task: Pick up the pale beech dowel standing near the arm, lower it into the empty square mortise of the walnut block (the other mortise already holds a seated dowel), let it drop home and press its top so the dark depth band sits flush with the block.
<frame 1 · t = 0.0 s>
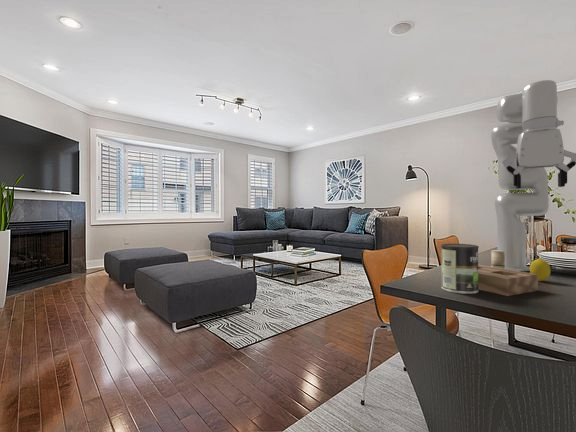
hand: (539, 187, 86), 31 cm above the table, tool pointing down, fingers open, 9 cm apart
dowel: (497, 278, 110), on the table
lemon: (539, 281, 104), on the table
coffee can: (459, 290, 95), on the table
mortise block: (486, 285, 100), on the table
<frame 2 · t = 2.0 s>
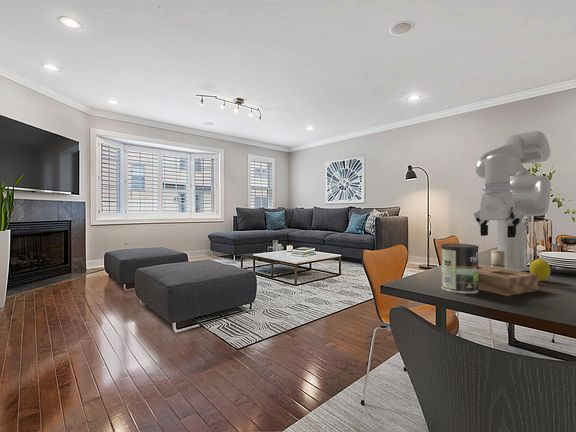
hand: (497, 236, 109), 15 cm above the table, tool pointing down, fingers open, 9 cm apart
nothing on the table moved.
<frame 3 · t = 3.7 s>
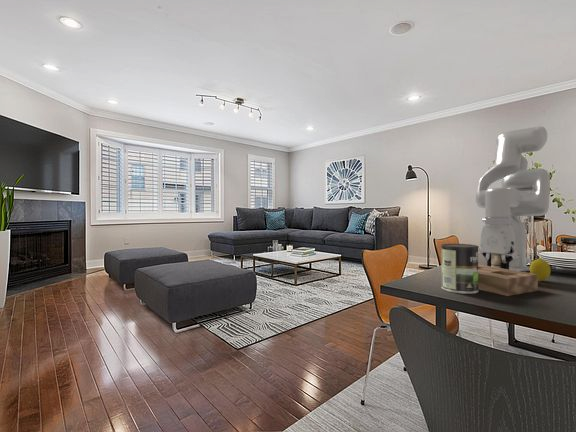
hand: (497, 271, 109), 2 cm above the table, tool pointing down, fingers closed on dowel, 4 cm apart
dowel: (497, 278, 109), on the table, touching gripper
everything else where it was.
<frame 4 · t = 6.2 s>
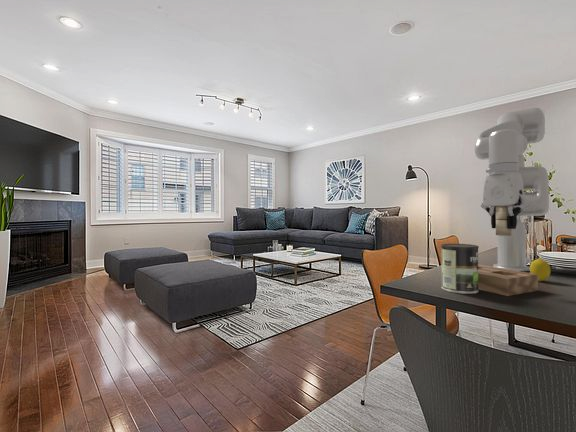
hand: (503, 227, 95), 19 cm above the table, tool pointing down, fingers closed on dowel, 4 cm apart
dowel: (503, 235, 95), point 17 cm above the table, touching gripper
everything else where it was.
when the fingers open (6 cm above the table, at t = 8.6 s): dowel drops 3 cm, resting in mortise block.
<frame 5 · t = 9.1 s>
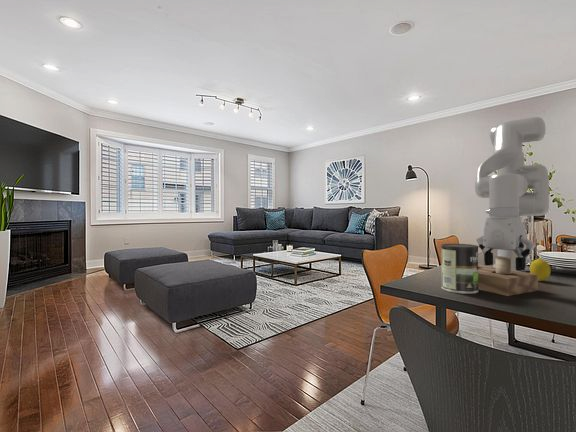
hand: (503, 267, 95), 7 cm above the table, tool pointing down, fingers open, 9 cm apart
dowel: (503, 288, 95), resting in mortise block
everything else where it was.
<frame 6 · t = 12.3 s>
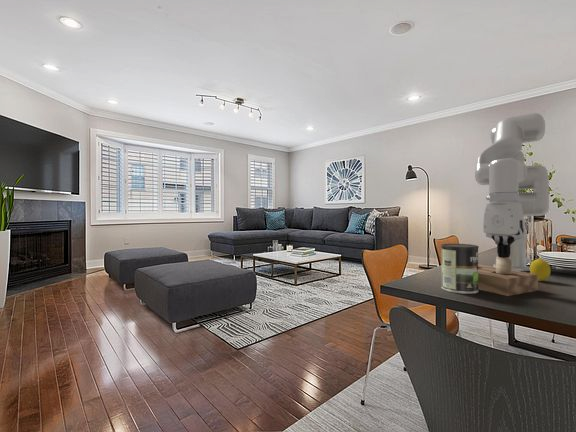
hand: (503, 257, 95), 10 cm above the table, tool pointing down, fingers closed
nothing on the table moved.
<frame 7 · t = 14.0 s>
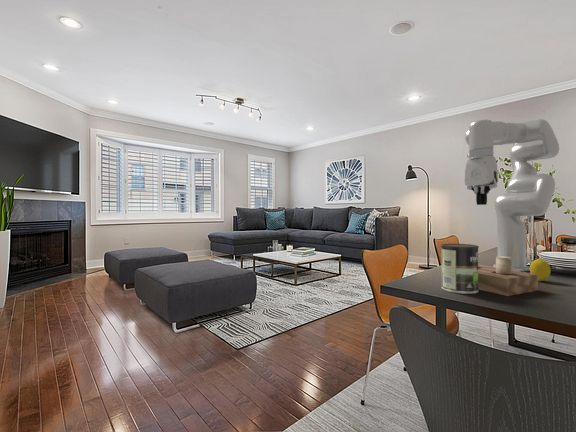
hand: (481, 204, 111), 27 cm above the table, tool pointing down, fingers closed
nothing on the table moved.
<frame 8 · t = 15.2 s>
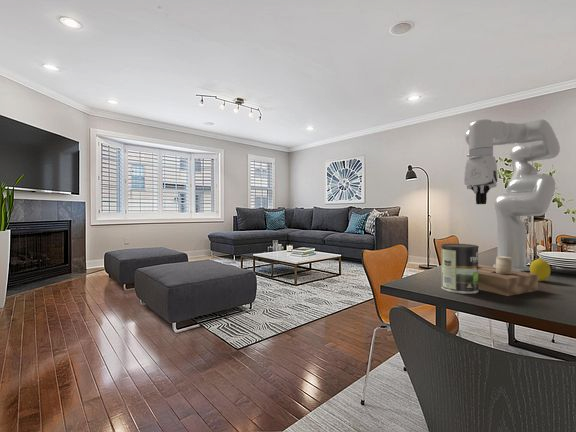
hand: (481, 204, 112), 27 cm above the table, tool pointing down, fingers closed
nothing on the table moved.
at the end: dowel 0.1 cm from the target spot on the mortise block, point 0.0 cm above the mortise block's base; dowel tilted 0°; the gripper is holding nothing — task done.
